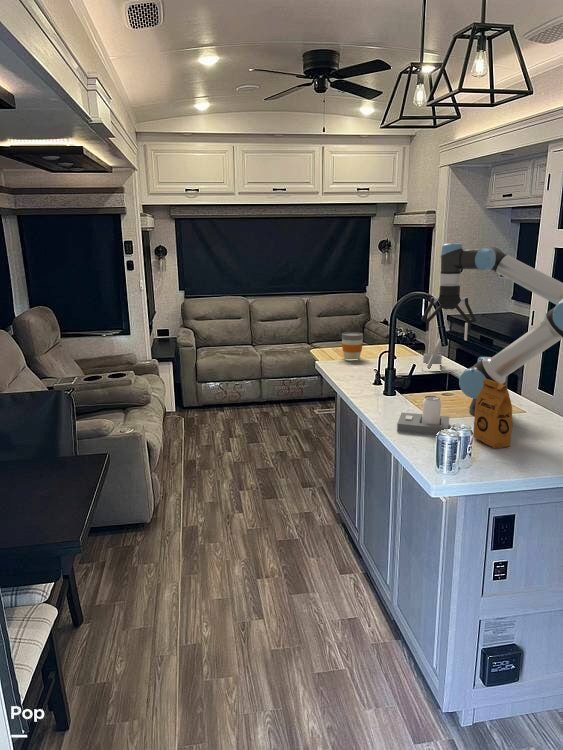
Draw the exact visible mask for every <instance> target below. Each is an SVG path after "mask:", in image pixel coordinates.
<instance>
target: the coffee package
mask: <svg viewBox="0 0 563 750" xmlns="http://www.w3.org/2000/svg"><path fill="white" fill-rule="evenodd" d="M483 383H484V385H483V387H482V389H481V391H480V393H479V395H478V397H477V399H476V404H475V416H474V421H473V433H472V434H473V435H472V436H473V438H474V439H477V440H478V441H480V442H482V443H483V444H485V445H486V446H490V447H492V448H493V449H501V448H500V447H502V448H509V447H511V441H512V440H511V439H512V430H513V406H512V401H511V398H510V393H509V390H508V385H507V386H505V385H503V384H500V383H499V382H495V381H492V380H489V379H486V378H485V379H484V380H483ZM508 446H509V447H508ZM498 447H499V448H498Z"/></svg>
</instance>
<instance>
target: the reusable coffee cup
mask: <svg viewBox="0 0 563 750" xmlns="http://www.w3.org/2000/svg"><path fill="white" fill-rule="evenodd" d="M363 340H364V333H362V332H357V331H349V332H347V331H346V332H342V333H341V347H342V352H343V359H344V360H345V359H360V358H361V353H362V351H363V342H364V341H363ZM360 360H361V359H360Z"/></svg>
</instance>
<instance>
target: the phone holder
mask: <svg viewBox="0 0 563 750" xmlns="http://www.w3.org/2000/svg"><path fill="white" fill-rule="evenodd" d="M441 346H442V344H441V339H440V335H439V336H438V337H437V340H436V344H435V346H434V349H433V351H432V353H427V352H426V353H423V357H422V364H423V363H426V364H428V365H427V368H428V369H430V368H431V366H432V364H441V365H442V362H443V361H442V359H443V354H440V353H439V350H440V348H441Z"/></svg>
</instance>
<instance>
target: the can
mask: <svg viewBox="0 0 563 750" xmlns="http://www.w3.org/2000/svg"><path fill="white" fill-rule="evenodd" d="M441 409H442V401H441V397H439V396H436V395H426V396H424V399H423V402H422V413H421V414H422V423H425V424H436V425H440V416H441Z"/></svg>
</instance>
